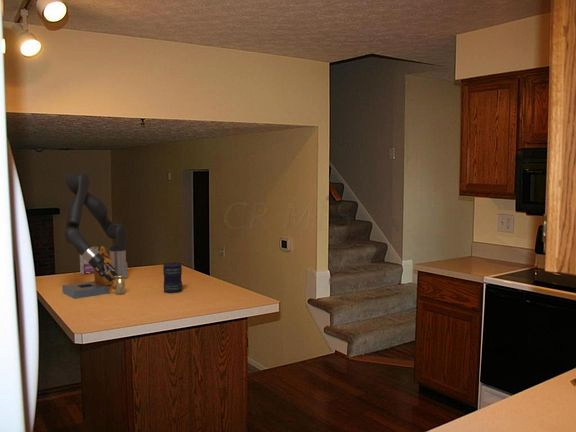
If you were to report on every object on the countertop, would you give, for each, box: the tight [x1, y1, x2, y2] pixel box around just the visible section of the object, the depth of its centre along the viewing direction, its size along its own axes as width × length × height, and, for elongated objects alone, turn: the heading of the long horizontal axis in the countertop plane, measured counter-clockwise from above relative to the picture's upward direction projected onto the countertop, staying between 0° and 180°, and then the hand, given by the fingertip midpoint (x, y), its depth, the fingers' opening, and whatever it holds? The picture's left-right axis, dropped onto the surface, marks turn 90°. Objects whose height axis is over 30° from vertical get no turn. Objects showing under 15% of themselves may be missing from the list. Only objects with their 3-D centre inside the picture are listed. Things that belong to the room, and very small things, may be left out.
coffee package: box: [93, 245, 114, 286], centre depth 304 cm, size 10×12×22 cm
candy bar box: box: [79, 246, 100, 275], centre depth 341 cm, size 11×5×16 cm, turn 143°
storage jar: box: [162, 262, 183, 294], centre depth 287 cm, size 10×10×15 cm
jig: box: [61, 280, 110, 300], centre depth 283 cm, size 18×18×4 cm
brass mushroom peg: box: [114, 274, 126, 296], centre depth 281 cm, size 6×6×10 cm
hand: (115, 279), depth 281 cm, fingers open, 8 cm apart
